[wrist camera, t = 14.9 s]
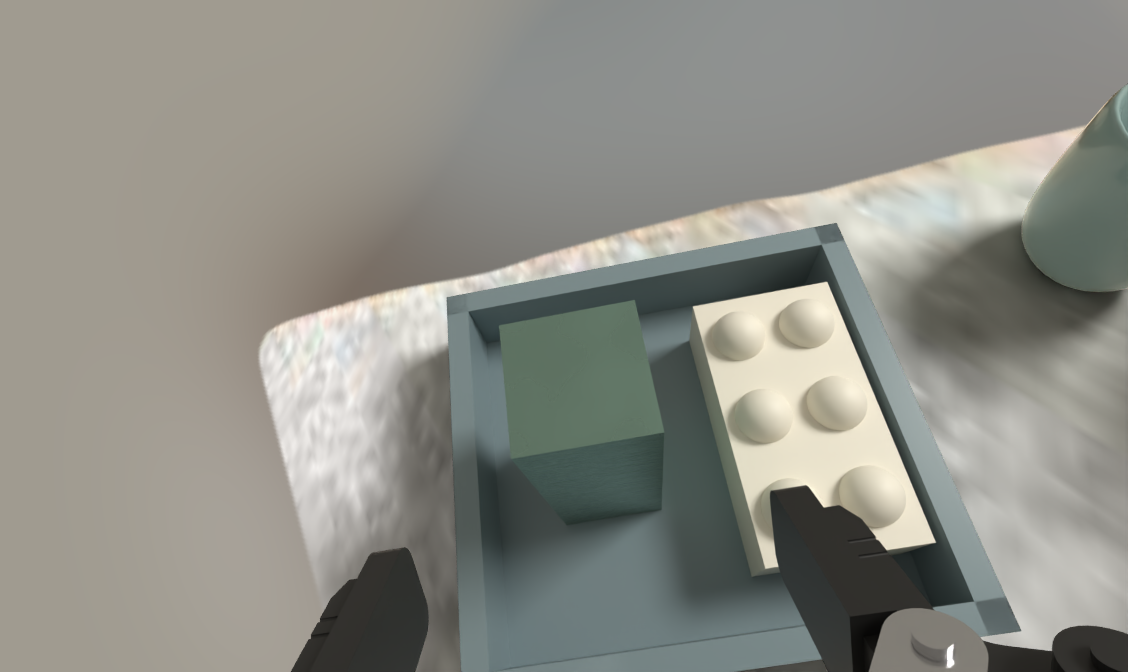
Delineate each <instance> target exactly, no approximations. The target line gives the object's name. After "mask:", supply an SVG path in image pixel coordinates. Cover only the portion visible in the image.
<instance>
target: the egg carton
mask: <svg viewBox="0 0 1128 672" xmlns="http://www.w3.org/2000/svg"><path fill="white" fill-rule="evenodd" d="M689 342H690V346H691V349H692V353H693V357H694V361H695V364H696V368H697V372H698V376H699V380H700V383H701V387H702V391H703V395H704V398H705V402H706V406H707V410H708V414H709V417H710V421H711V425H712V429H713V432H714V436H715V440H716V444H717V448H718V451H719V455H720V459H721V463H722V466H723V470H724V474H725V478H726V482H727V485H728V489H729V493H730V497H731V501H732V504H733V508H734V512H735V516H736V519H737V523H738V527H739V531H740V535H741V538H742V542H743V546H744V550H745V553H746V557H747V561H748V565H749V569H750V572H751V576H752V577H754V576H761V575H767V574H774V573H780V570H779V567H778V563H777V559H776V554H775V545H774V536H773V526H772V516H771V507H770V491H771V490H778V489H784V488H790V487H797V486H803V485H807V486H808V487H809V488H810V489H811V491H812V492H813V493H814V495H815V496H816V497H817V499H818V500H819V502H820V503H821V504H822V506H823V507H830V506H836V505H840V506H842V507H843V508H845V509H847V510H848V511H850V512H851V513H853V514H855V515H856V516H858V517H860V518H861V519H862V520H863V521H864V522H865V524H866V525H867V526H868V527H869V529H870V530H871V531H872V532H873V534H874V535H875V536H876V539H877V540H879V541H880V542H881V544H882V545H883V546H884V547H885V549H886V550H887V552H888V555H891V556H892V555H898V554H902V553H905V552H908V551H911V550H915V549H918V548H921V547H924V546H927V545H930V544H933V543H936V542H935V539H934V537H933V534H932V532H931V530H930V527H929V525H928V522H927V520H926V518H925V515H924V513H923V510H922V508H921V506H920V503H919V501H918V498H917V496H916V494H915V491H914V489H913V486H912V484H911V482H910V479H909V477H908V474H907V472H906V470H905V467H904V465H903V462H902V460H901V458H900V455H899V453H898V450H897V448H896V446H895V443H894V441H893V438H892V436H891V434H890V431H889V429H888V426H887V424H886V422H885V419H884V417H883V414H882V412H881V410H880V407H879V405H878V403H877V400H876V398H875V395H874V393H873V391H872V388H871V386H870V383H869V381H868V379H867V376H866V374H865V371H864V369H863V367H862V364H861V362H860V359H859V357H858V355H857V352H856V350H855V347H854V345H853V343H852V340H851V338H850V335H849V333H848V331H847V328H846V326H845V323H844V321H843V319H842V316H841V314H840V311H839V309H838V307H837V304H836V302H835V299H834V297H833V295H832V292H831V290H830V287H829V285H828V283H827V282H823V283H818V284H812V285H807V286H802V287H796V288H791V289H785V290H780V291H774V292H769V293H764V294H758V295H753V296H747V297H742V298H737V299H731V300H726V301H720V302H715V303H709V304H704V305H699V306H693V310H692V319H691V328H690V338H689Z"/></svg>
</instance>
